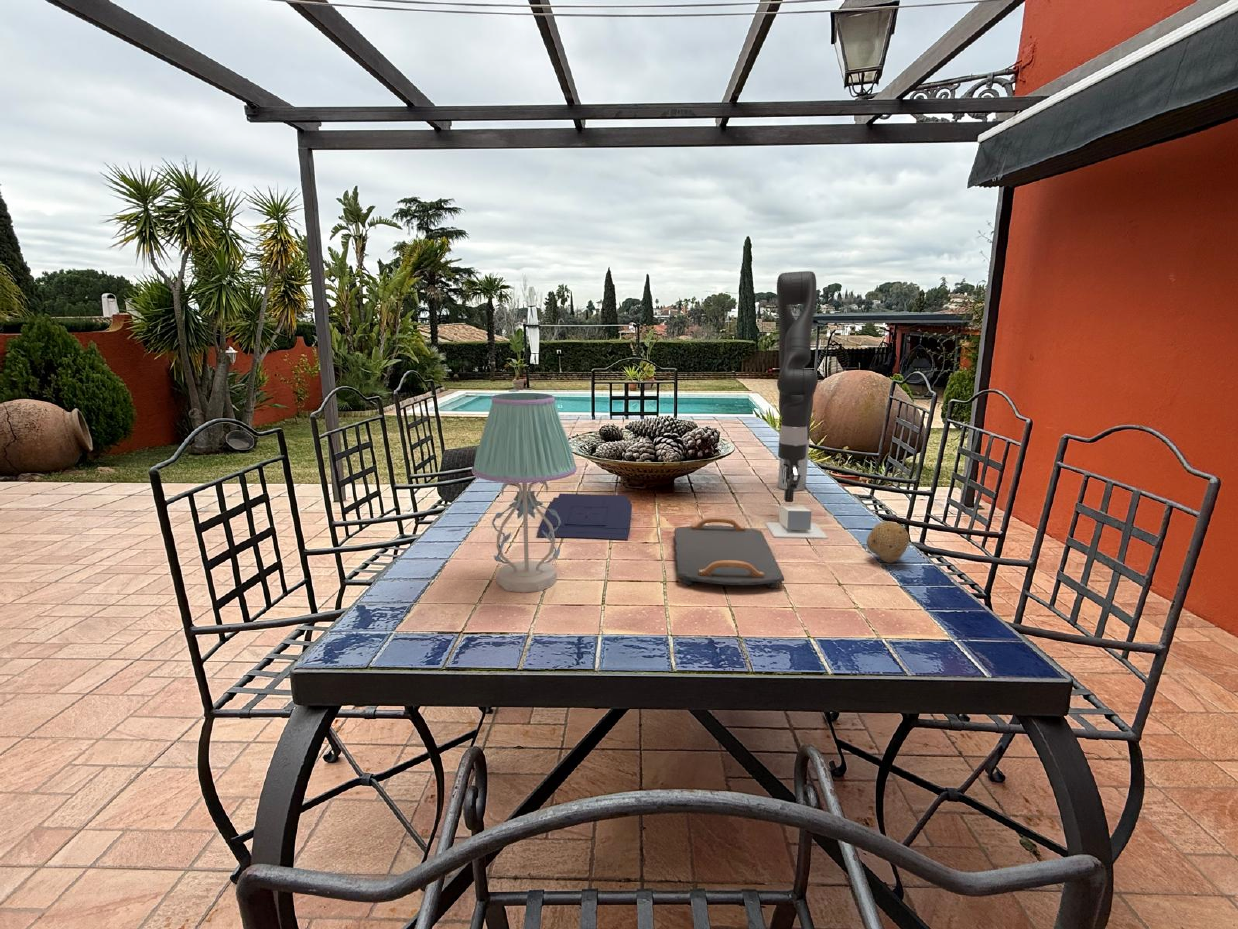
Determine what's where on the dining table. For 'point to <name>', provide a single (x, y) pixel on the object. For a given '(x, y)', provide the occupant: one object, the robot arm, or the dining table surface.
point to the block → (795, 517)
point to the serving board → (725, 555)
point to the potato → (888, 541)
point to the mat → (795, 531)
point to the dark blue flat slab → (589, 516)
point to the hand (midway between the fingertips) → (788, 501)
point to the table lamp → (524, 474)
